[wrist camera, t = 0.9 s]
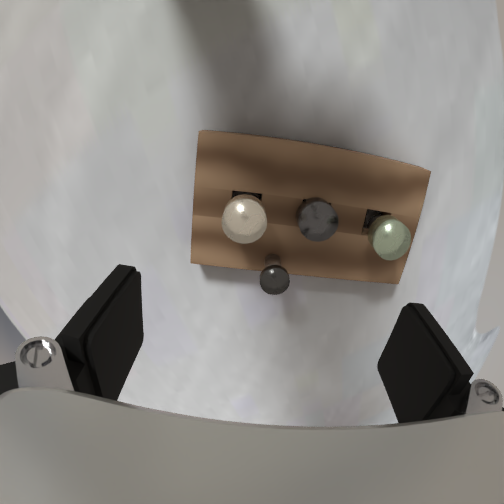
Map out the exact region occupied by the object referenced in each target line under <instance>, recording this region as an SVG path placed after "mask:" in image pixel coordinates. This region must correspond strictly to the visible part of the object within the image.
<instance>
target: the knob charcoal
mask: <svg viewBox="0 0 504 504" xmlns="http://www.w3.org/2000/svg"><path fill="white" fill-rule="evenodd" d="M296 220H297V223H298V226H299V228H300V231H301V233H302V234H303V235H304V237H306V238H307V239H309V240H311V241H315V242H320V241H324V240H327V239H329V238H330V237H331V236H332V235H333V234H334V233H335V232H336V230H337V228H338V223H339V220H338V215H337V213H336V211H335V210H334V209H333V207H332V206H331V205H330V204H329V203H328V202H327V201H326V200H325V199H323V198H319V197H312V198H308V199H306V200H305V201H303V202H302V203H301V204H300V206H299V207H298V209H297V212H296Z"/></svg>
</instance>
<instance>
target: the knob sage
mask: <svg viewBox="0 0 504 504" xmlns="http://www.w3.org/2000/svg"><path fill="white" fill-rule="evenodd" d="M368 229H369V230H368V240H369V243H370V245H371V246H372V247H373V249H374V250H375V251H376V252H377V254H378V255H379V256H380V257H381V258H383V259H385V260H395V259H398V258H400V257H401V256H403V255H404V254H405V253H406V252H407V250H408V248H409V246H410V243H411V234H410V231H409V229H408V228H407V227H406V226H405V225H404V224H403V223H402V222H401V221H399V220H398V219H397V218H396V217H394V216H391V215H383V216H379V215H376V216H374V217H372V218H371V219H370V220H369V223H368Z"/></svg>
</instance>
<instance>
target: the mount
mask: <svg viewBox="0 0 504 504" xmlns="http://www.w3.org/2000/svg"><path fill="white" fill-rule="evenodd" d="M430 174H431V171H429V170H426V169H424V168H422V167H419V166H415V165H411V164H408V163H404V162H400V161H396V160H392V159H388V158H384V157H379V156H375V155H371V154H366V153H361V152H357V151H352V150H347V149H342V148H337V147H332V146H326V145H321V144H315V143H309V142H303V141H296V140H290V139H283V138H276V137H268V136H260V135H252V134H243V133H233V132H222V131H210V130H202V131H199V135H198V146H197V158H196V171H195V185H194V200H193V218H192V238H191V263H194V264H202V265H211V266H220V267H229V268H238V269H247V270H257V271H263V269H264V268H265V264H264V260H265V258H266V256H267V255H269V254H276V255H278V256H279V257H280V259H281V265H282V267H284V268H285V269H286V270H287V272H288V274H295V275H305V276H315V277H325V278H336V279H346V280H357V281H368V282H379V283H390V284H398V283H399V281H400V278H401V275H402V272H403V269H404V266H405V263H406V260H407V257H408V254H409V251H410V248H411V245H412V242H413V238H414V235H415V232H416V228H417V225H418V221H419V218H420V214H421V210H422V207H423V203H424V199H425V195H426V191H427V187H428V182H429V178H430ZM233 190H234V191H243V192H252V193H260V194H261V198H260V201H261V202H262V203H263V205H264V207H265V210H266V217H267V227H266V230H265V232H264V234H263V235H262V236H261V237H260V238H259V239H258V240H256V241H254V242H252V243H247V244H242V243H237V242H235V241H233V240H231V239H230V238H229V237H228V236H227V235H226V234H225V233H224V231H223V228H222V216H223V213H224V209H225V207H226V205H227V203H228V202H229V201H230V200H231V199H232V198H233ZM312 197H319V198H323V199H325V200H326V201H327V202H328V203H329V204H330V205H331V206H332V207H333V209H334V210H335V211H336V213H337V215H338V220H339V223H338V228H337V230H336V232H335V233H334V234H333V235H332V236H331V237H330V238H329V239H327V240H324V241H320V242H315V241H311V240H309V239H307V238H306V237H304V235H303V234H302V233H301V231H300V228H299V226H298V223H297V220H296V212H297V209H298V207H299V206H300V204H301V203H302V201H303V199H308V198H312ZM367 209H371V210H376V211H381V215H380V216H383V215H391V216H394V217H396V218H397V219H398V220H399V221H401V222H402V223H403V224H404V225H405V226H406V227H407V228H408V229H409V231H410V234H411V243H410V246H409V248H408V250H407V252H406V253H405V254H404V255H403V256H401V257H400V258H398V259H395V260H385V259H383V258H381V257H380V256H379V255H378V254H377V252H376V251H375V250H374V249H373V247H372V246H371V245H370V243H369V240H368V230H369V229H368V228H363V224H364V220H365V216H366V212H367Z"/></svg>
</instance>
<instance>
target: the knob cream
mask: <svg viewBox="0 0 504 504" xmlns="http://www.w3.org/2000/svg"><path fill="white" fill-rule="evenodd" d="M266 227H267V217H266V210H265V207H264V205H263V203H262V202H261V201H260V200H259V199H258V198H256V197H254V196H252V195H248V194H242V195H238V196H235V197H233V198H232V199H231V200H230V201H229V202H228V203H227V205H226V207H225V209H224V213H223V216H222V228H223V231H224V233H225V234H226V235H227V236H228V237H229V238H230V239H231V240H233V241H235V242H237V243H242V244H247V243H252V242H254V241H256V240H258V239H259V238H260V237H261V236H262V235H263V234H264V232H265V230H266Z"/></svg>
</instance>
